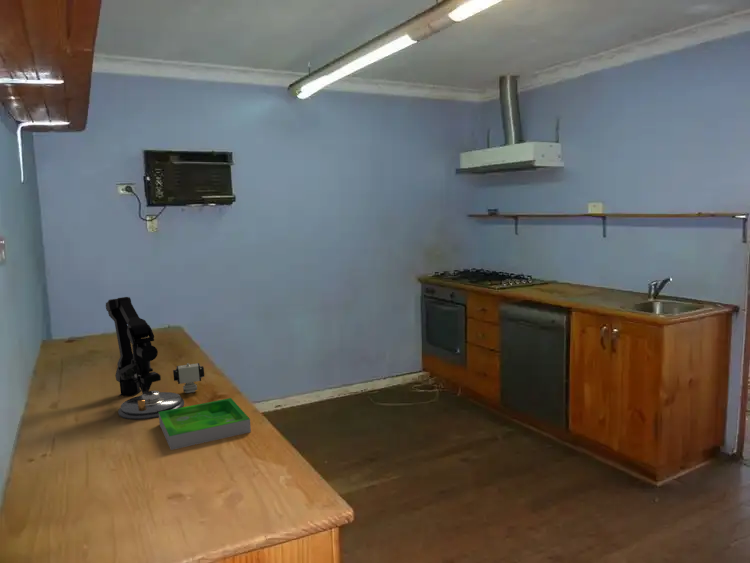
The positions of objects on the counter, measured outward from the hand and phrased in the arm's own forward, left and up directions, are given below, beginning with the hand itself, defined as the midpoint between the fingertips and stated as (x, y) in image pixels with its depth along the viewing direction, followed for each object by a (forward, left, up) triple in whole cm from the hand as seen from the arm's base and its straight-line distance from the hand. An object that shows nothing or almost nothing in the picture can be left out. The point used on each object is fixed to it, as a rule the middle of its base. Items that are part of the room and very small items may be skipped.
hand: (145, 395), depth 217 cm
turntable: (+4, -4, -2) cm, 6 cm away
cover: (+4, -4, -1) cm, 6 cm away
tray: (+31, -26, -4) cm, 40 cm away
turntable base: (+4, -4, -4) cm, 7 cm away
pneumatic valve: (+12, +14, -4) cm, 19 cm away
